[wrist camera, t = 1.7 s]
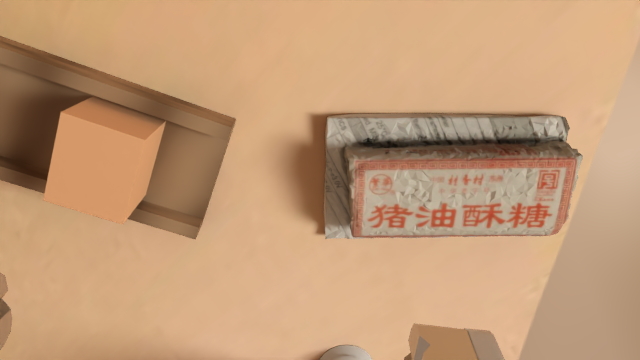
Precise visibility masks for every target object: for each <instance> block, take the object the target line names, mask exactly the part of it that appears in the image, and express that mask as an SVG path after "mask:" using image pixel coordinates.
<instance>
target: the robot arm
mask: <svg viewBox="0 0 640 360" xmlns="http://www.w3.org/2000/svg"><path fill="white" fill-rule="evenodd" d="M7 291H8V287H7V282H6V277H5V275H3V274H2V273H0V350H1V348H2V347H3V346H4V344H5V342H6V340H7V338H8V336H9V334H10V332H11V325H12V314H11V309H10V308H9V306H8V305H7V304H6V303H5V302H4V301H3V299H2V298H3V296H4V295H5V294H6V292H7ZM409 346H410V351H411V353H410V354H408V355H407V356H406V357H405V358H404V360H505V359H504V357H503V355H502V353H501V350H500V348H499V346H498V344H497V341H496V339H495V337H494V335H493V334H492V333H491V332H490V331H486V330H475V329H465V328H464V329H457V328H448V327H440V326H432V325H423V324H415V323H414V324H413V326H412V328H411V332H410V336H409Z"/></svg>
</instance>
